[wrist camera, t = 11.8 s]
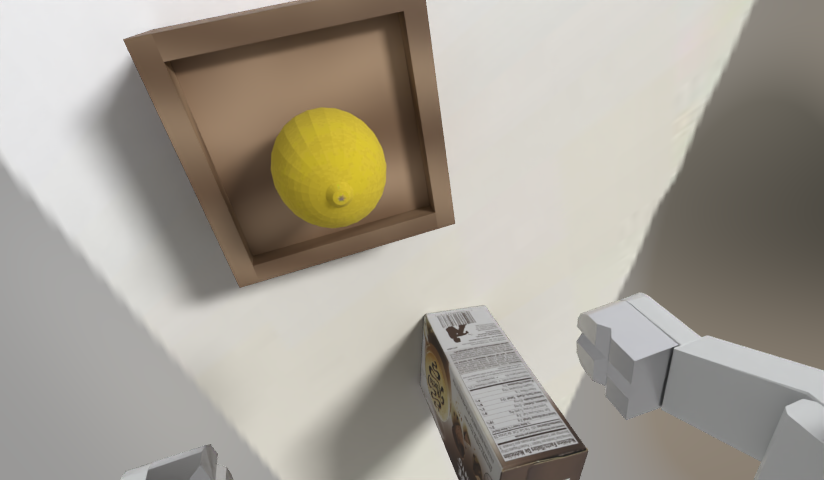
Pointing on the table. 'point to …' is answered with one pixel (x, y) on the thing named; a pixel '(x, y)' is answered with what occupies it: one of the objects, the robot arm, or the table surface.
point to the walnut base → (288, 97)
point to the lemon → (328, 167)
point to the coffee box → (492, 403)
